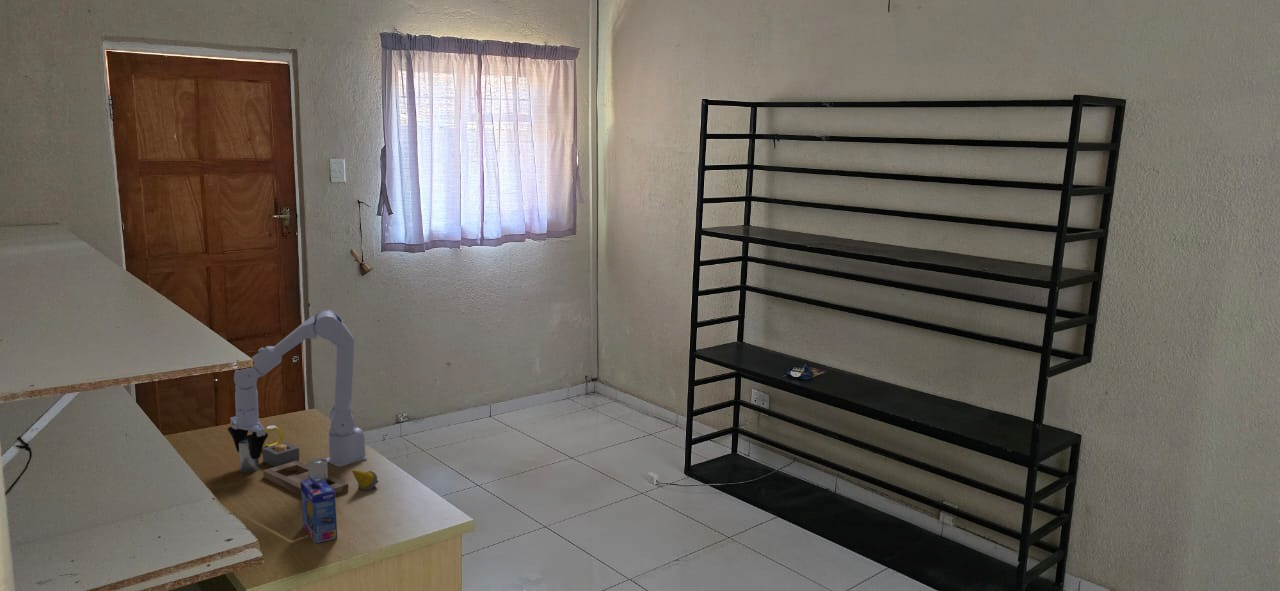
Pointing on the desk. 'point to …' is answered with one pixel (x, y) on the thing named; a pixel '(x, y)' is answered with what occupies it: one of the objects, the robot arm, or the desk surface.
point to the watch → (271, 428)
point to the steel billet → (247, 458)
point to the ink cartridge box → (319, 510)
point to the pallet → (298, 477)
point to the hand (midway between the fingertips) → (248, 454)
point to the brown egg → (280, 447)
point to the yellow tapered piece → (365, 479)
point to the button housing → (280, 455)
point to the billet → (318, 469)
